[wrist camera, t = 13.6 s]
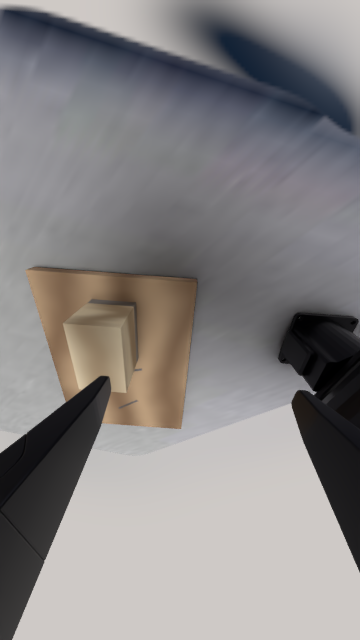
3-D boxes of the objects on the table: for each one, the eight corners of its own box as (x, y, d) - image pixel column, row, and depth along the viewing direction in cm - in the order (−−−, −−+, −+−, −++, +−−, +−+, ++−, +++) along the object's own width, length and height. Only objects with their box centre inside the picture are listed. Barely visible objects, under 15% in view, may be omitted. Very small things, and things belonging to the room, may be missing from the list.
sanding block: (136, 302, 19) (120, 327, 15) (138, 358, 22) (126, 392, 18) (91, 299, 19) (62, 323, 15) (100, 355, 22) (79, 389, 18)
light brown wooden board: (196, 279, 19) (197, 282, 18) (181, 421, 29) (181, 429, 28) (34, 266, 19) (25, 269, 18) (76, 413, 29) (71, 421, 28)
